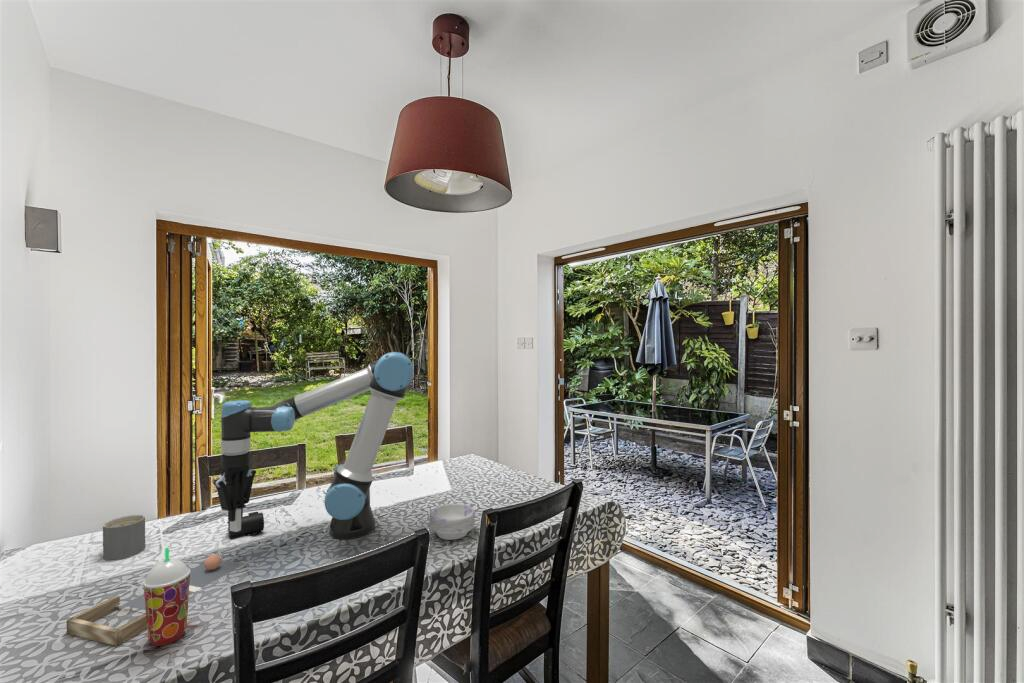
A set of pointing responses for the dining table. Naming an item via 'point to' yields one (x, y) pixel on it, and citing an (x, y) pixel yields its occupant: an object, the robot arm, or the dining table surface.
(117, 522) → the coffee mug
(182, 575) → the smoothie
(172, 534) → the dining table surface
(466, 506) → the paper bowls
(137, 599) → the lane
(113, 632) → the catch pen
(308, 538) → the dining table surface
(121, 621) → the dining table surface
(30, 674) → the dining table surface
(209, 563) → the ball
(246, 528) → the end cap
